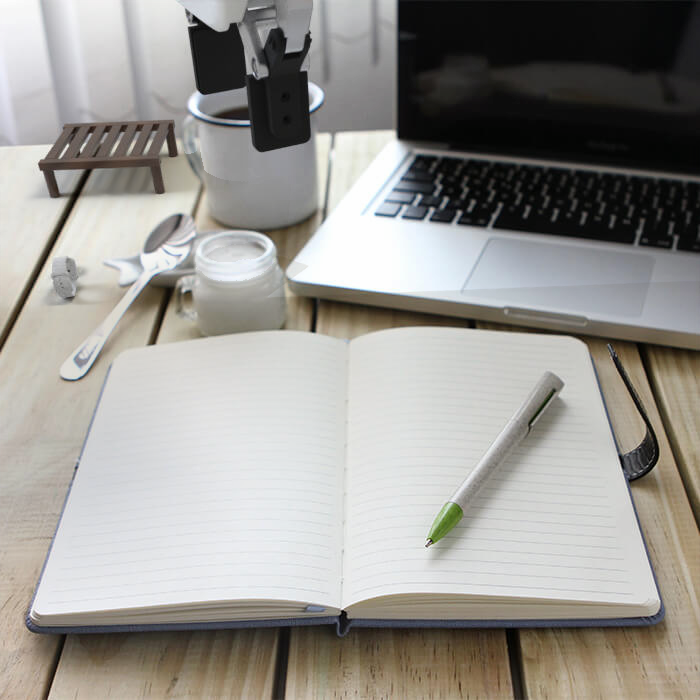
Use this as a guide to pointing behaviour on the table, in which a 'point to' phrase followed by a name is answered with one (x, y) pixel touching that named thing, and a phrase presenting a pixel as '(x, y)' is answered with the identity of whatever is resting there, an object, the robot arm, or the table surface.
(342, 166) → the table surface
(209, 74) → the robot arm
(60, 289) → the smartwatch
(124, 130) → the rack
